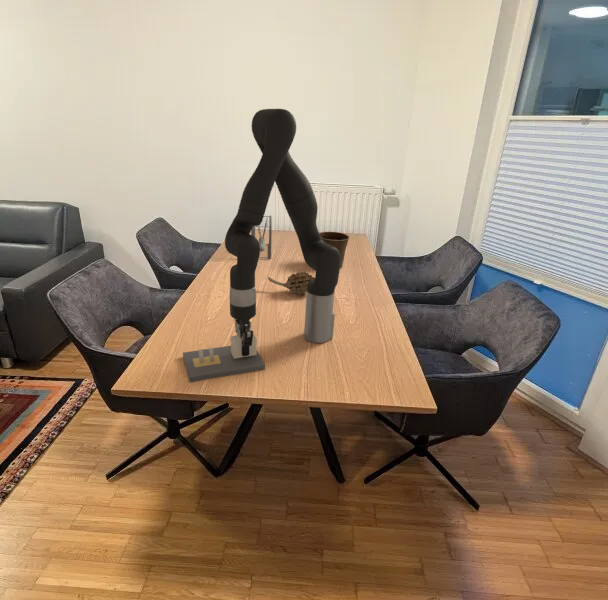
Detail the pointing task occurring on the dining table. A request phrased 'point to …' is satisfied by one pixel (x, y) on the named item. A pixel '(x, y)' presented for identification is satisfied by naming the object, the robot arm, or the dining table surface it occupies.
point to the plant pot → (336, 242)
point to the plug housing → (237, 347)
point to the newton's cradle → (262, 239)
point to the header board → (219, 363)
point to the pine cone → (296, 282)
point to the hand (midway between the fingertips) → (243, 351)
